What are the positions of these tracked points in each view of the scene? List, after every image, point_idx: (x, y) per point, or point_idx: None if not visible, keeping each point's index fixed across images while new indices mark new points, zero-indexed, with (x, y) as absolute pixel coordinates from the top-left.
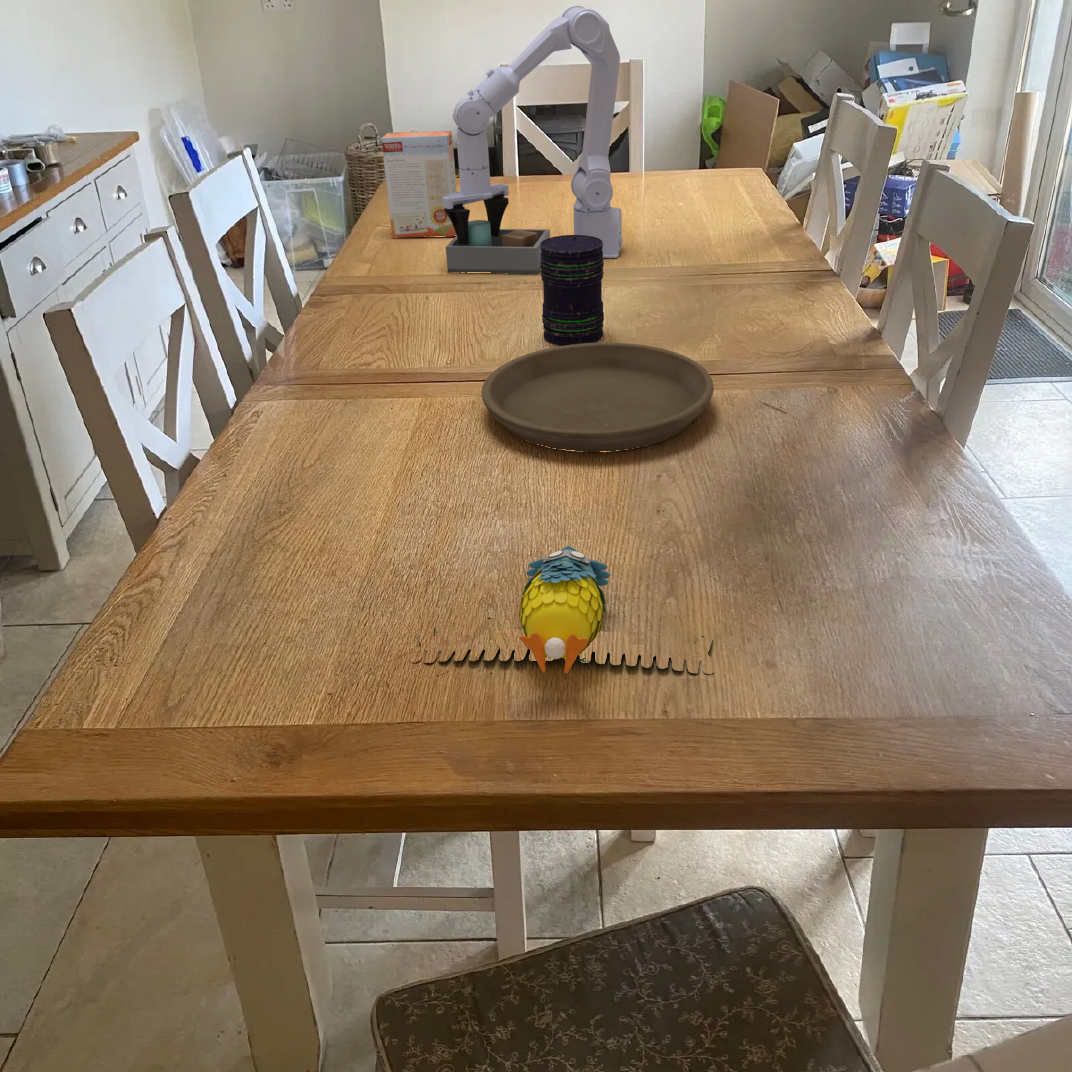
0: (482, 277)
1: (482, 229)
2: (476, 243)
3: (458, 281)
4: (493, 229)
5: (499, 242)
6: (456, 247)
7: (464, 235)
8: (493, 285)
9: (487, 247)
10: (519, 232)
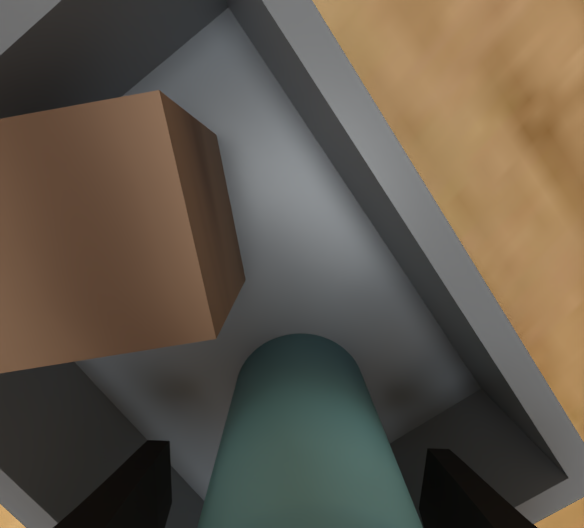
0: (455, 199)
1: (352, 476)
2: (376, 420)
3: (571, 242)
4: (150, 507)
5: (112, 458)
6: (571, 425)
7: (506, 501)
8: (530, 36)
9: (456, 239)
10: (34, 288)
